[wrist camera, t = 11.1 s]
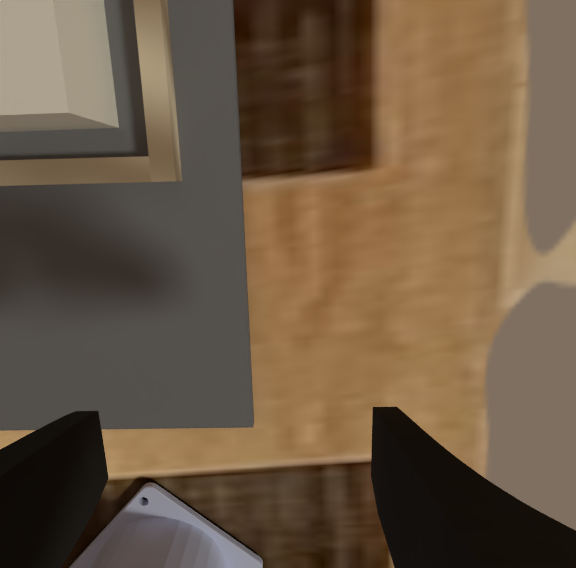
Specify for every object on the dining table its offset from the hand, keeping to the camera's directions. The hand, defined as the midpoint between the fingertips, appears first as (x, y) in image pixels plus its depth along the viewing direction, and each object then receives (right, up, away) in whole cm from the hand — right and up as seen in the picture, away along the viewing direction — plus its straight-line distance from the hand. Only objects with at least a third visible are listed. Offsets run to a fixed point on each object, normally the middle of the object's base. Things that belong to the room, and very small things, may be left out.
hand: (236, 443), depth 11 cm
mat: (-8, +10, +7) cm, 15 cm away
